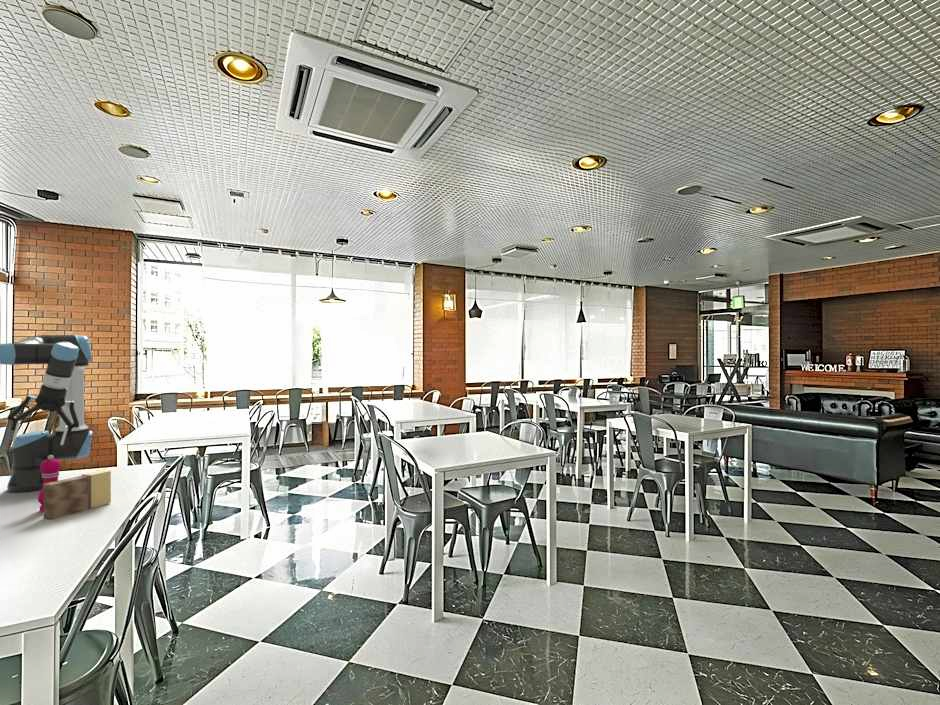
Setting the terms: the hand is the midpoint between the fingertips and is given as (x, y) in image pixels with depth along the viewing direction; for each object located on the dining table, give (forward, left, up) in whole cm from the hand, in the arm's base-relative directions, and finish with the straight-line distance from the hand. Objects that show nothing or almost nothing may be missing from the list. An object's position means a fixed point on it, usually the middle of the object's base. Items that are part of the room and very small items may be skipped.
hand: (38, 441), depth 186 cm
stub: (+2, +17, -25) cm, 31 cm away
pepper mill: (-1, +3, -25) cm, 26 cm away
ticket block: (+8, +9, -25) cm, 28 cm away
